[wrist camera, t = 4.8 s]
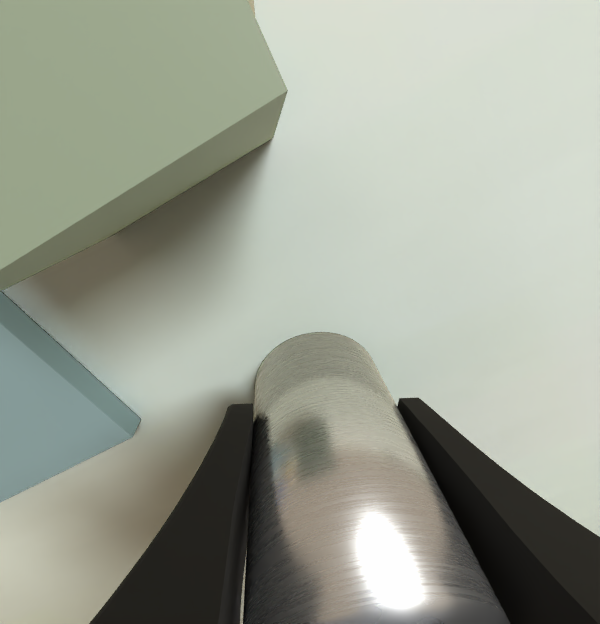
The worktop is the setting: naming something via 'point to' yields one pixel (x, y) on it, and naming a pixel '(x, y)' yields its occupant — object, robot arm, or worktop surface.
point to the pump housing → (120, 114)
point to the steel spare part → (348, 502)
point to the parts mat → (49, 406)
